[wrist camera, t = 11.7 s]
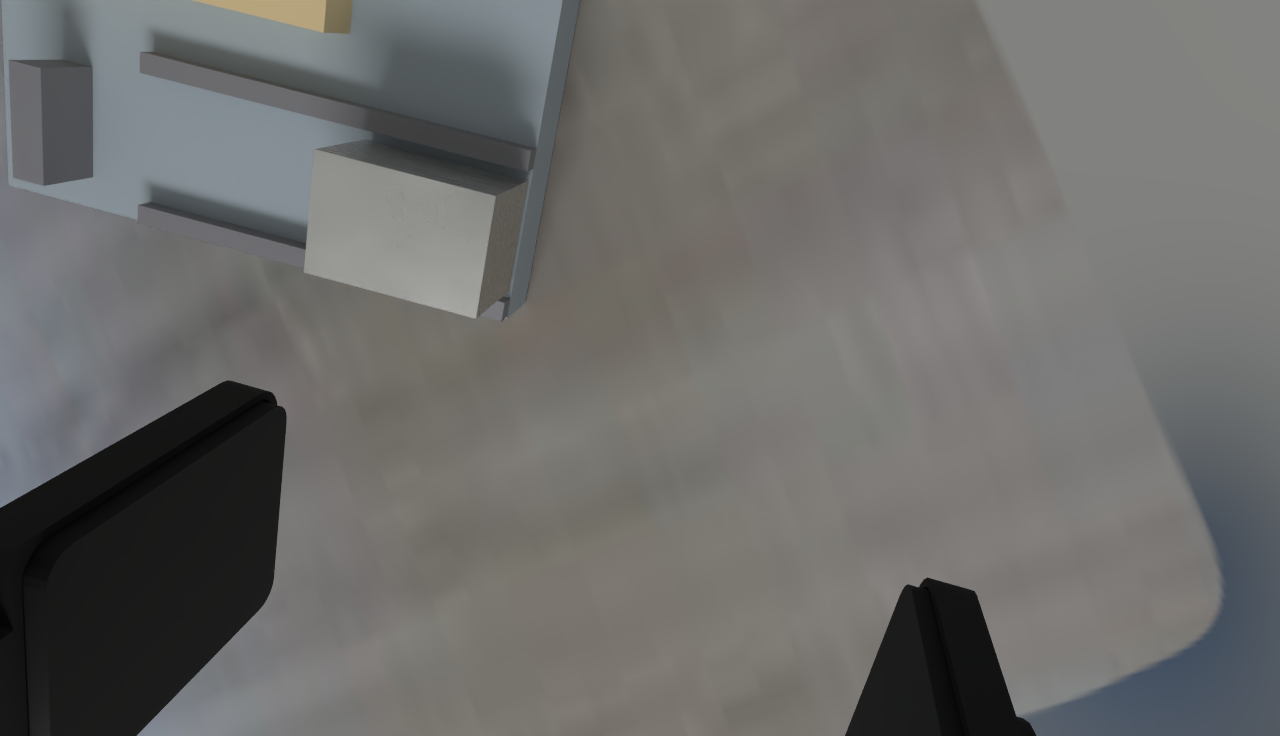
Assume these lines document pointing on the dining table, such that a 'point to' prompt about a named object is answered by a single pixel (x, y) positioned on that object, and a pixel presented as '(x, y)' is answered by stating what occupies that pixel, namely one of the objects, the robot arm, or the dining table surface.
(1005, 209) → the dining table surface
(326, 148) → the cover
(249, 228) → the base
